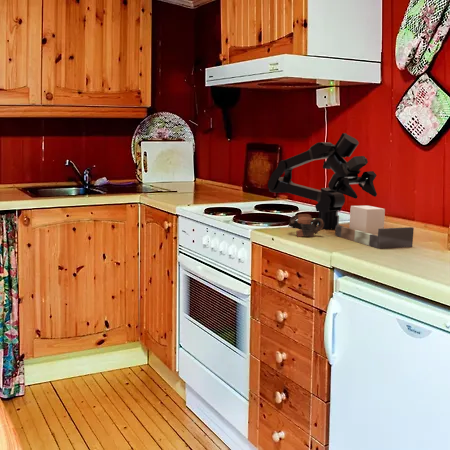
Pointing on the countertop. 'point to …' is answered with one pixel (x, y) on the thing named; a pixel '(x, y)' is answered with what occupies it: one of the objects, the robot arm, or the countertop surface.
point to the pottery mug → (306, 225)
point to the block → (367, 218)
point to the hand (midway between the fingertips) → (366, 196)
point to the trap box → (379, 237)
